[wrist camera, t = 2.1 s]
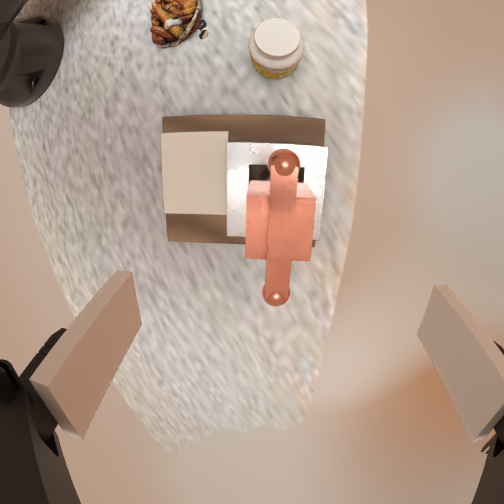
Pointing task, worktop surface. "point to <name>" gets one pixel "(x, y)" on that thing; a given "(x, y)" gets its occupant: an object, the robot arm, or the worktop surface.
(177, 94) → the worktop surface
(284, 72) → the supplement bottle
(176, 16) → the brown mottled lumpy part
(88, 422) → the robot arm
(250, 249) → the copper link bar
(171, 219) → the board
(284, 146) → the eye block
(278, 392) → the worktop surface
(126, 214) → the worktop surface
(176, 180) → the mat
